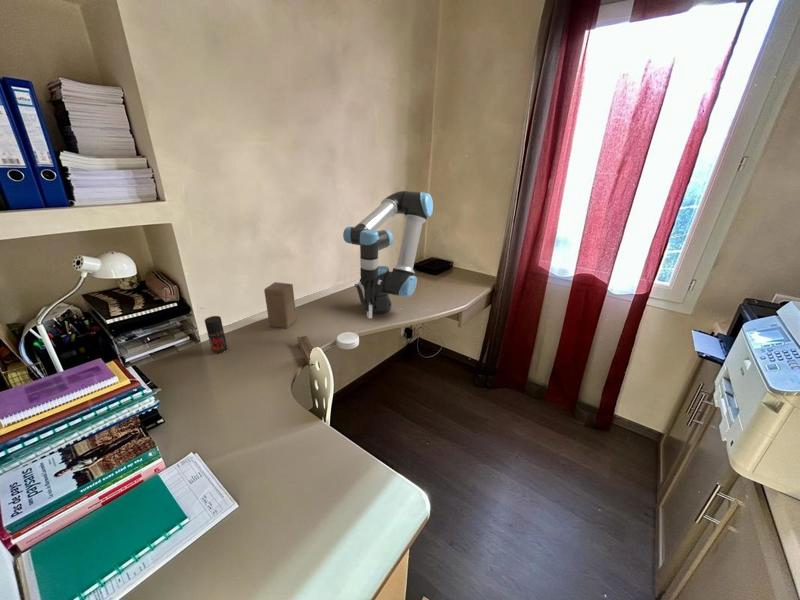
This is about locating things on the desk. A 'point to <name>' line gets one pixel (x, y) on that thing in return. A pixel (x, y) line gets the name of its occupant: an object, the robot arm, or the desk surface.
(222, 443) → the desk surface
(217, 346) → the deodorant
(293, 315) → the wooden block
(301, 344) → the brown wooden bar
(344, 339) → the coaster
